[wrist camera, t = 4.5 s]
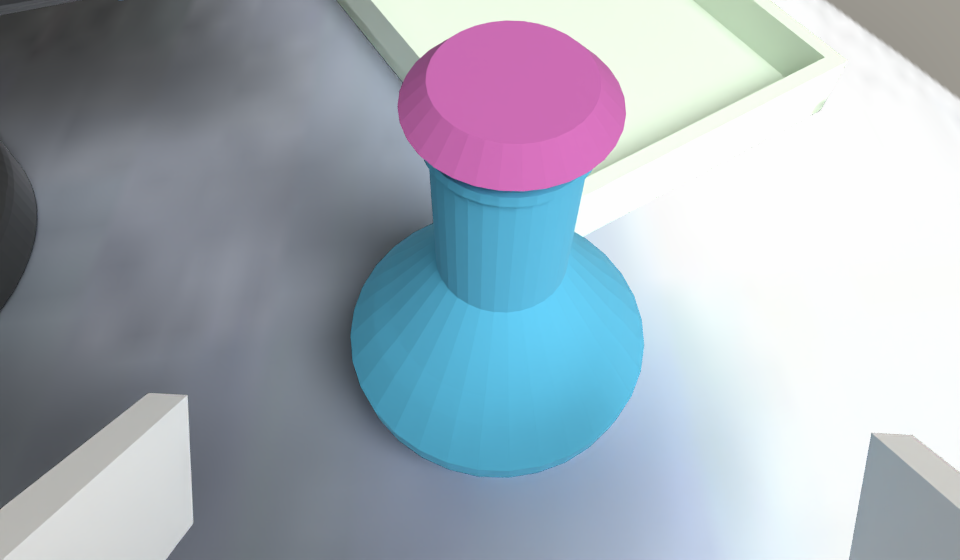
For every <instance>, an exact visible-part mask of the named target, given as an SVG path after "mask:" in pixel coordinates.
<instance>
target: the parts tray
mask: <svg viewBox="0 0 960 560" xmlns="http://www.w3.org/2000/svg"><path fill="white" fill-rule="evenodd" d="M337 1H338V3H339V4H340V5H341V6H342V7H343V9H344V10H345V11H346V12H347V14H348V15H349V16H350V17H351V19H352V20H353V21H354V22H355V24H356V25H357V26H358V27H359V29H360V30H361V31H362V32H363V34H364V35H365V36H366V37H367V38H368V40H369V41H370V42H371V43H372V45H373V46H374V47H375V48H376V50H377V51H378V52H379V53H380V55H381V56H382V57H383V58H384V60H385V61H386V62H387V63H388V65H389V66H390V67H391V68H392V69H393V71H394V72H395V73H396V74H397V76H398V77H399V78H400V79H401V81H402V82H403V81H404V79H405V77H406V75H407V73H408V72H409V71H410V69H411V68H412V67H413V65H414V64H415V62H416V61H417V60H419V59H420V58H421V57H422V56H423V55H424V54H425V53H426V52H428V51H429V50H430V49H432V48H433V47H435V46H437V45H438V44H440V43H442V42H443V41H445V40H447V39H448V38H450V37H452V36H454V35H455V34H457V33H459V32H461V31H463V30H465V29H468V28H470V27H473V26H476V25H480V24H484V23H488V22H496V21H506V20H508V21H526V22H532V23H538V24H541V25H545V26H548V27H551V28H554V29H556V30H558V31H560V32H563V33H565V34H567V35H568V36H570V37H571V38H573V39H574V40H576V41H577V42H579V43H580V44H581V45H583V46H584V47H586V48H587V49H588V50H590V51H591V52H592V53H594V54H595V55H596V56H597V57H598V58H599V59H600V60H601V61H603V62H604V63H605V64H606V65H607V66H608V67H609V68H610V70H611V71H612V73H613V74H614V76H615V77H616V79H617V80H618V82H619V84H620V87H621V89H622V92H623V95H624V98H625V107H626V118H625V124H624V129H623V132H622V134H621V136H620V138H619V140H618V143H617V145H616V146H615V148H614V149H613V150H612V151H611V152H610V154H609V155H608V156H607V157H606V158H605V160H604V161H602V162H601V163H600V164H598V165H597V166H596V167H594V168H593V170H592V171H591V173H590V174H589V175H588V176H587V177H586V179H585V182H584V187H583V192H582V197H581V201H580V206H579V211H578V216H577V221H576V226H575V231H574V232H576V233H578V234H579V235H581V236H582V237H583V236H585V235H587V234H589V233H591V232H593V231H595V230H597V229H598V228H600V227H602V226H604V225H606V224H608V223H610V222H612V221H613V220H615V219H617V218H619V217H621V216H623V215H625V214H627V213H628V212H630V211H632V210H634V209H636V208H638V207H640V206H642V205H644V204H645V203H647V202H649V201H651V200H653V199H655V198H657V197H659V196H660V195H662V194H664V193H666V192H668V191H670V190H672V189H674V188H676V187H677V186H679V185H681V184H683V183H685V182H687V181H689V180H691V179H692V178H694V177H696V176H698V175H700V174H702V173H704V172H706V171H707V170H709V169H711V168H713V167H715V166H717V165H719V164H721V163H723V162H724V161H726V160H728V159H730V158H732V157H734V156H736V155H738V154H739V153H741V152H743V151H745V150H747V149H749V148H751V147H753V146H754V145H756V144H758V143H760V142H762V141H764V140H766V139H768V138H770V137H771V136H773V135H775V134H777V133H779V132H781V131H783V130H785V129H786V128H788V127H790V126H792V125H794V124H796V123H798V122H800V121H801V120H803V119H805V118H807V117H809V116H811V115H813V114H815V113H817V112H818V111H820V110H821V109H822V107H823V105H824V103H825V101H826V100H827V98H828V96H829V94H830V92H831V91H832V89H833V87H834V85H835V84H836V82H837V80H838V78H839V76H840V75H841V73H842V71H843V69H844V67H845V66H846V64H847V62H848V60H846V59H845V58H844V57H842V56H841V55H840V54H839V53H837V52H836V51H835V50H833V49H832V48H831V47H830V46H828V45H827V44H826V43H824V42H823V41H822V40H821V39H819V38H818V37H817V36H815V35H814V34H813V33H812V32H810V31H809V30H808V29H806V28H805V27H804V26H803V25H801V24H800V23H799V22H797V21H796V20H795V19H794V18H792V17H791V16H790V15H788V14H787V13H786V12H785V11H783V10H782V9H781V8H779V7H778V6H777V5H776V4H774V3H773V2H772V1H771V0H337Z"/></svg>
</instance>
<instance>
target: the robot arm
mask: <svg viewBox="0 0 960 560" xmlns="http://www.w3.org/2000/svg"><path fill="white" fill-rule="evenodd" d="M74 1H80V0H0V15H5V14H10V13H16V12H21V11H26V10H32V9H37V8H42V7H48V6H53V5H58V4H64V3H69V2H74ZM118 1H122V0H118ZM36 223H37V211H36V202H35V196H34V193H33V189H32V186H31V184H30V181H29V179H28V177H27V175H26V174H25V172H24V170H23V169H22V167H21V166H20V165H19V163H18V162H17V161H16V160H15V158H14V157H13V156H12V155H11V153H10V152H9V151H8V149H7V148H6V147H5V146H4V144H3V143H2V142H1V141H0V309H1V308H2V307H3V305H4V304H5V302H6V301H7V300H8V298H9V297H10V295H11V293H12V292H13V290H14V288H15V287H16V285H17V283H18V281H19V279H20V278H21V276H22V274H23V272H24V269H25V267H26V264H27V262H28V260H29V257H30V254H31V251H32V247H33V243H34V239H35V232H36ZM192 524H193V503H192V481H191V460H190V438H189V416H188V395H177V394H159V393H148V394H146V395H145V396H144V397H143V398H141V399H140V400H139V401H137V402H136V403H135V404H134V405H132V406H131V407H130V408H129V409H127V410H126V411H125V412H123V413H122V414H121V415H120V416H118V417H117V418H116V419H115V420H113V421H112V422H111V423H109V424H108V425H107V426H106V427H104V428H103V429H102V430H101V431H99V432H98V433H97V434H95V435H94V436H93V437H92V438H90V439H89V440H88V441H87V442H85V443H84V444H83V445H81V446H80V447H79V448H78V449H76V450H75V451H74V452H73V453H71V454H70V455H69V456H67V457H66V458H65V459H64V460H62V461H61V462H60V463H58V464H57V465H56V466H55V467H53V468H52V469H51V470H50V471H48V472H47V473H46V474H44V475H43V476H42V477H41V478H39V479H38V480H37V481H36V482H34V483H33V484H32V485H30V486H29V487H28V488H27V489H25V490H24V491H23V492H22V493H20V494H19V495H18V496H16V497H15V498H14V499H13V500H11V501H10V502H9V503H8V504H6V505H5V506H4V507H2V508H1V509H0V560H166V559H167V557H168V556H169V555H170V553H171V552H172V551H173V549H174V548H175V547H176V546H177V544H178V543H179V542H180V540H181V539H182V538H183V536H184V535H185V534H186V532H187V531H188V530H189V528H190V527H191V526H192ZM849 560H960V472H959V471H957V470H956V469H955V468H953V467H952V466H951V465H950V464H948V463H947V462H946V461H945V460H943V459H942V458H941V457H939V456H938V455H937V454H936V453H934V452H933V451H932V450H931V449H929V448H928V447H927V446H925V445H924V444H923V443H922V442H920V441H919V440H918V439H917V438H915V437H914V436H913V435H901V434H883V433H871V439H870V444H869V450H868V456H867V461H866V467H865V472H864V478H863V484H862V489H861V495H860V500H859V506H858V512H857V517H856V523H855V529H854V534H853V540H852V545H851V551H850V557H849Z"/></svg>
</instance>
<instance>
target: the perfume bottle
mask: <svg viewBox="0 0 960 560" xmlns="http://www.w3.org/2000/svg"><path fill="white" fill-rule="evenodd" d="M398 113H399V120H400V124H401V127H402V129H403V131H404V134H405V136H406V138H407V140H408V141H409V142H410V144H411V145H412V146H413V148H414V149H415V150H416V152H417V153H418V154H419V155H420V156H421V157H422V158H423V159H424V161H425V163H426V165H427V167H428V168H429V171H430V184H431V198H432V212H433V223H432V224H430V225H428V226H426V227H424V228H422V229H420V230H418V231H416V232H414V233H412V234H411V235H410V236H408V237H407V238H406V239H404V240H403V241H401V242H400V243H399V244H397V245H396V246H394V247H393V248H392V249H391V250H390V251H389V252H388V253H387V255H386V256H385V257H384V258H383V259H382V260H381V261H380V262H379V263H378V264H377V265H376V267H375V268H374V270H373V271H372V273H371V274H370V276H369V278H368V279H367V281H366V282H365V284H364V285H363V287H362V290H361V293H360V295H359V298H358V301H357V303H356V306H355V309H354V314H353V321H352V328H351V348H352V361H353V364H354V367H355V370H356V373H357V377H358V380H359V383H360V386H361V388H362V390H363V391H364V393H365V395H366V397H367V398H368V400H369V402H370V404H371V405H372V407H373V409H374V411H375V412H376V414H377V416H378V417H379V419H380V420H381V421H382V423H383V424H384V425H385V426H386V427H387V428H388V429H389V430H390V431H391V432H392V434H393V435H394V436H395V437H396V438H397V439H398V440H399V441H400V442H402V443H403V444H404V445H406V446H407V447H408V448H410V449H411V450H413V451H414V452H415V453H417V454H418V455H419V456H421V457H422V458H425V459H427V460H429V461H431V462H433V463H436V464H438V465H440V466H442V467H444V468H446V469H449V470H453V471H457V472H461V473H466V474H470V475H474V476H479V477H505V478H508V477H515V476H521V475H527V474H533V473H539V472H541V471H544V470H547V469H549V468H552V467H555V466H557V465H560V464H563V463H565V462H567V461H568V460H570V459H572V458H573V457H575V456H576V455H578V454H580V453H581V452H583V451H584V450H586V449H588V448H589V447H590V446H591V445H592V444H593V443H594V442H595V441H596V440H597V439H598V438H599V437H600V436H601V435H603V434H604V433H605V432H606V431H607V430H608V429H609V428H610V426H611V425H612V424H613V423H614V421H615V420H616V419H617V417H618V416H619V414H620V413H621V411H622V410H623V408H624V407H625V405H626V404H627V402H628V401H629V399H630V397H631V396H632V393H633V390H634V388H635V385H636V382H637V380H638V377H639V374H640V372H641V365H642V357H643V349H644V340H643V329H642V319H641V316H640V313H639V310H638V307H637V304H636V301H635V297H634V295H633V293H632V291H631V290H630V288H629V286H628V284H627V283H626V281H625V279H624V277H623V275H622V274H621V273H620V271H619V270H618V269H617V268H616V267H615V265H614V264H613V263H612V262H611V261H610V260H609V258H608V257H607V256H606V255H605V254H604V253H603V252H602V251H600V250H599V249H598V248H597V247H595V246H594V245H593V244H592V243H591V242H589V241H588V240H587V239H586V238H584V237H582V236H581V235H579V234H578V233H576V232H574V231H575V226H576V221H577V216H578V211H579V206H580V201H581V197H582V192H583V187H584V182H585V179H586V177H587V176H588V175H589V174H590V173H591V171H592V170H593V168H594V167H596V166H597V165H598V164H600V163H601V162H602V161H604V160H605V158H606V157H607V156H608V155H609V154H610V152H611V151H612V150H613V149H614V148H615V146H616V145H617V143H618V140H619V138H620V136H621V134H622V132H623V129H624V124H625V118H626V107H625V98H624V95H623V92H622V89H621V87H620V84H619V82H618V80H617V79H616V77H615V76H614V74H613V73H612V71H611V70H610V68H609V67H608V66H607V65H606V64H605V63H604V62H603V61H601V60H600V59H599V58H598V57H597V56H596V55H595V54H594V53H592V52H591V51H590V50H588V49H587V48H586V47H584V46H583V45H581V44H580V43H579V42H577V41H576V40H574V39H573V38H571V37H570V36H568V35H567V34H565V33H563V32H560V31H558V30H556V29H554V28H551V27H548V26H545V25H541V24H538V23H532V22H526V21H508V20H506V21H496V22H488V23H484V24H480V25H476V26H473V27H470V28H468V29H465V30H463V31H461V32H459V33H457V34H455V35H454V36H452V37H450V38H448V39H447V40H445V41H443V42H442V43H440V44H438V45H437V46H435V47H433V48H432V49H430V50H429V51H428V52H426V53H425V54H424V55H423V56H422V57H421V58H420V59H419V60H417V61H416V62H415V64H414V65H413V67H412V68H411V69H410V71H409V72H408V73H407V75H406V77H405V79H404V81H403V84H402V86H401V89H400V92H399V100H398Z"/></svg>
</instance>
